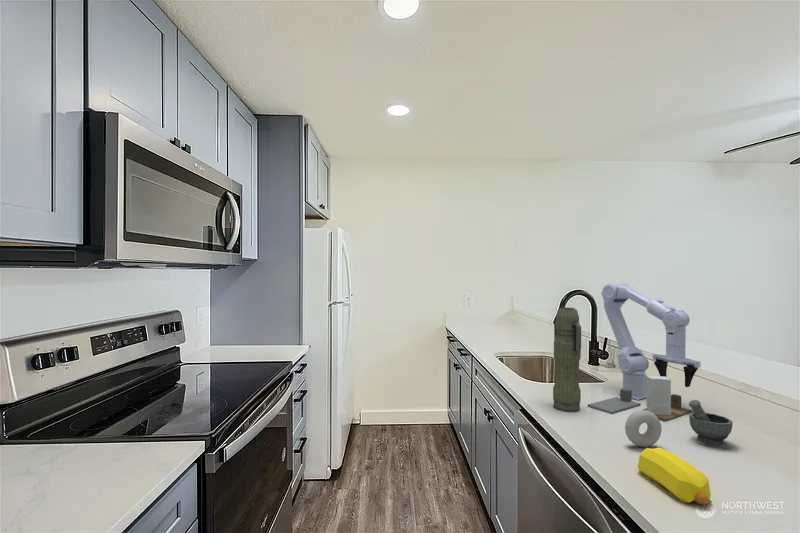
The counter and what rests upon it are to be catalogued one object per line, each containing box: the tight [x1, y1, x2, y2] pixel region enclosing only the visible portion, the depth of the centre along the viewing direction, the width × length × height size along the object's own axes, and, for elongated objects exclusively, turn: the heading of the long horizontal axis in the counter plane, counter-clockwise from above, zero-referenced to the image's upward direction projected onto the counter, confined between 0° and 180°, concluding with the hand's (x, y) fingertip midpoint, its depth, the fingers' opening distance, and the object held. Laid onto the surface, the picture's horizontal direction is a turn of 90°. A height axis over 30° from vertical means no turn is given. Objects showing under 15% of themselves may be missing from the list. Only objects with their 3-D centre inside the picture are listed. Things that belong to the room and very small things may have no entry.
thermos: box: [552, 307, 582, 413], centre depth 146 cm, size 9×12×35 cm
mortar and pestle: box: [688, 399, 733, 448], centre depth 117 cm, size 11×9×12 cm
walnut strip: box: [642, 393, 693, 422], centre depth 142 cm, size 18×9×5 cm, turn 122°
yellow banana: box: [637, 447, 712, 505], centre depth 93 cm, size 18×7×8 cm
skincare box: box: [646, 375, 672, 416], centre depth 139 cm, size 6×4×12 cm
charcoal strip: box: [587, 388, 642, 415], centre depth 149 cm, size 18×9×5 cm, turn 122°
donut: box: [624, 409, 663, 448], centre depth 114 cm, size 10×4×10 cm, turn 96°
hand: (675, 384), depth 146 cm, fingers open, 7 cm apart
